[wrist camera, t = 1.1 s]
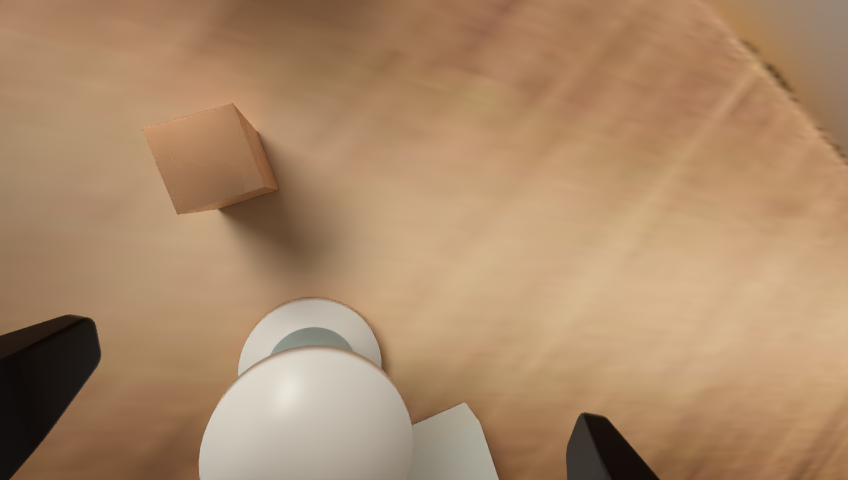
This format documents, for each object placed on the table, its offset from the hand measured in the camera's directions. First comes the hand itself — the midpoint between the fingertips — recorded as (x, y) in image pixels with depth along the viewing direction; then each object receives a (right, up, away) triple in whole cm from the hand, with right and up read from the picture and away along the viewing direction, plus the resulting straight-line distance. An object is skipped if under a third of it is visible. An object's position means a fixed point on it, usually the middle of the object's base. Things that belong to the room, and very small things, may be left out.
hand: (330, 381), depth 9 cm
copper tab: (-7, +6, +14) cm, 17 cm away
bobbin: (-4, -4, +16) cm, 17 cm away
